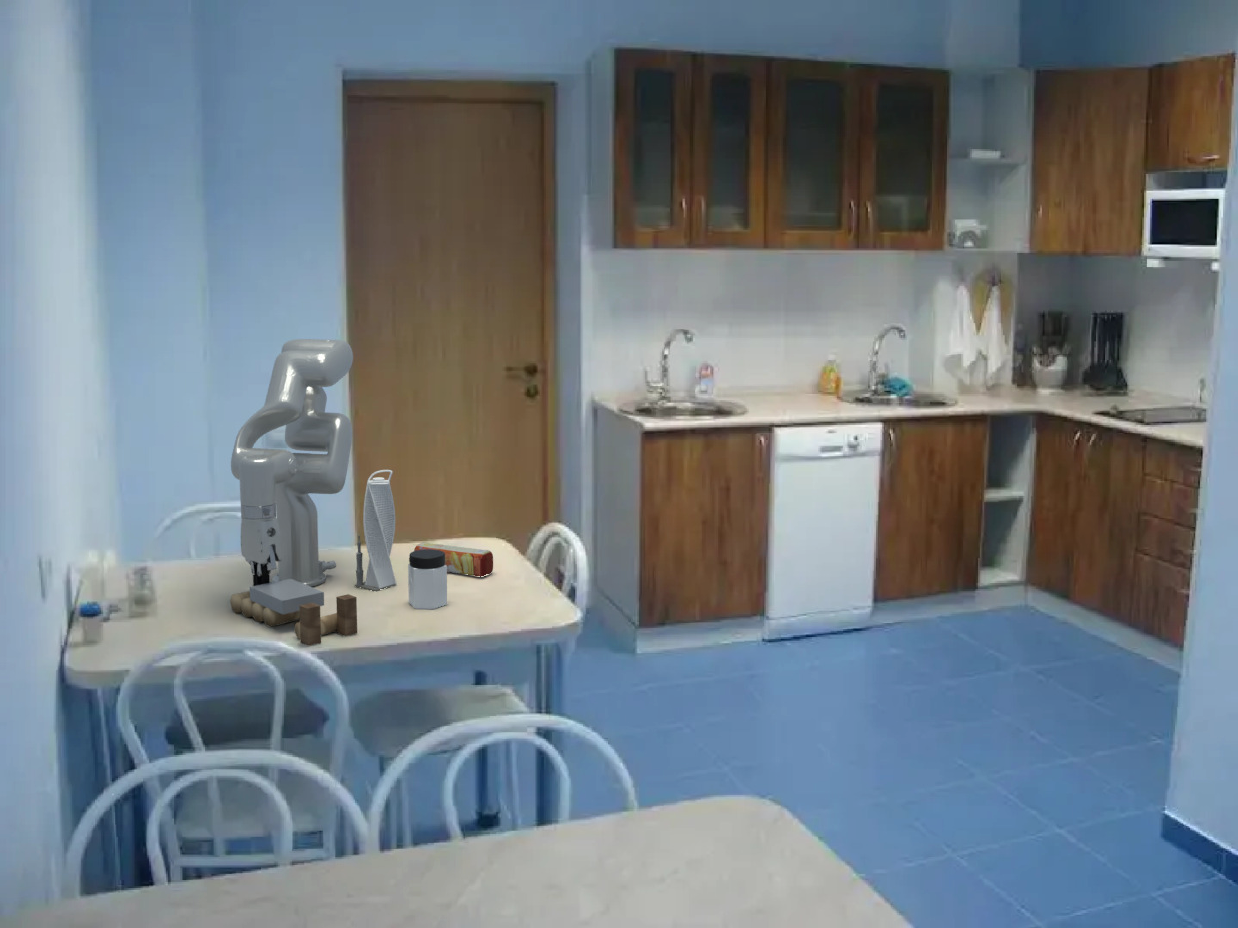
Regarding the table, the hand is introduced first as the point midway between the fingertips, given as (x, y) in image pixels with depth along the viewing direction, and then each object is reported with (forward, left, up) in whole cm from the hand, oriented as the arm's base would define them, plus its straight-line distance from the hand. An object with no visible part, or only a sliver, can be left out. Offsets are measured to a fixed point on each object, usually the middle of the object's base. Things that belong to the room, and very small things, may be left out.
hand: (261, 590), depth 283 cm
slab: (0, +11, 0) cm, 11 cm away
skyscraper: (-31, +2, -5) cm, 31 cm away
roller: (0, +23, -3) cm, 23 cm away
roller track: (0, +4, -5) cm, 6 cm away
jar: (-30, +22, -5) cm, 37 cm away
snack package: (-52, +3, -5) cm, 52 cm away
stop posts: (0, +27, -5) cm, 27 cm away
